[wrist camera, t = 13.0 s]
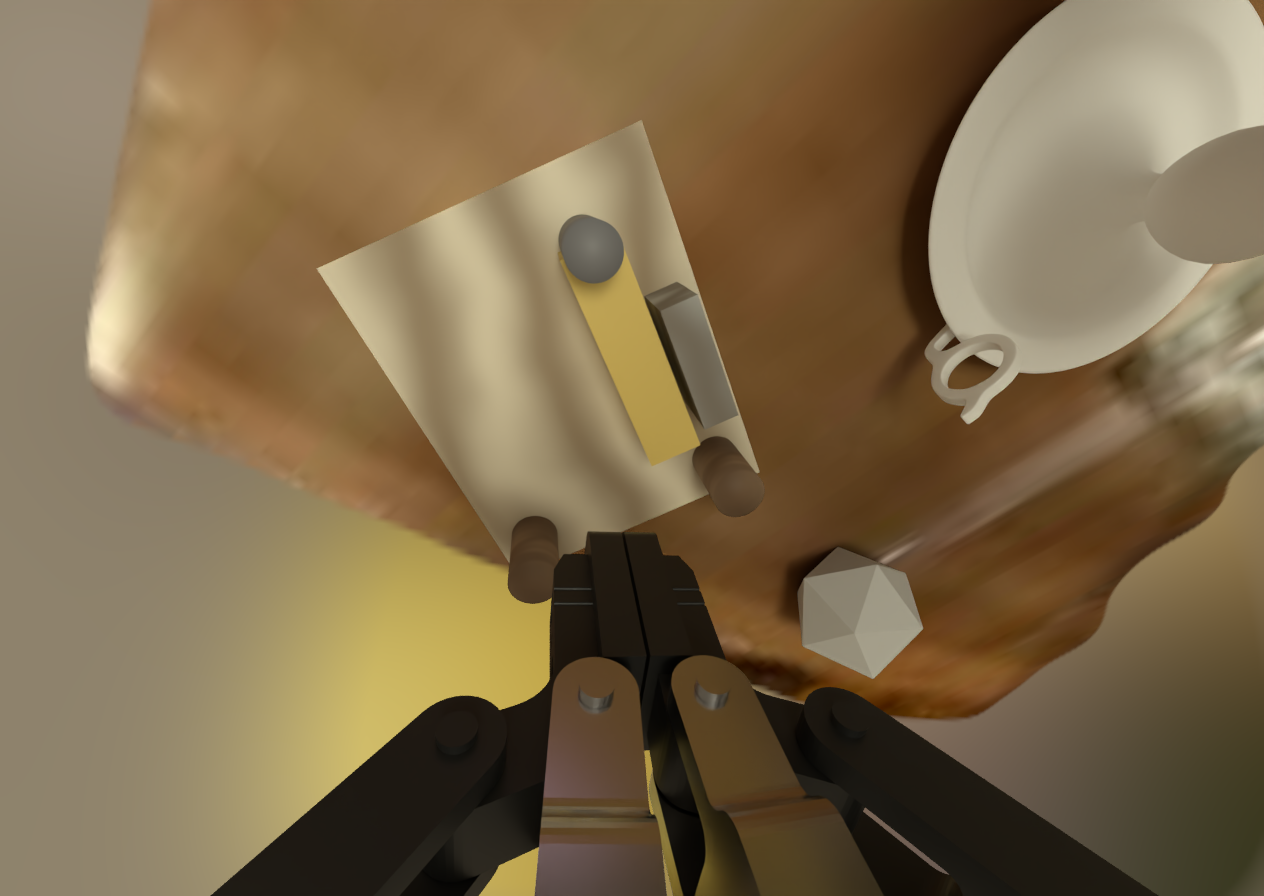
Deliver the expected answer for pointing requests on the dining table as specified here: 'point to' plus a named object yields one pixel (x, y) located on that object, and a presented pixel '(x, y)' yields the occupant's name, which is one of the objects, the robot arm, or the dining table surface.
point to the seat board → (547, 358)
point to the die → (857, 612)
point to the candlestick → (1096, 185)
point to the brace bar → (626, 335)
